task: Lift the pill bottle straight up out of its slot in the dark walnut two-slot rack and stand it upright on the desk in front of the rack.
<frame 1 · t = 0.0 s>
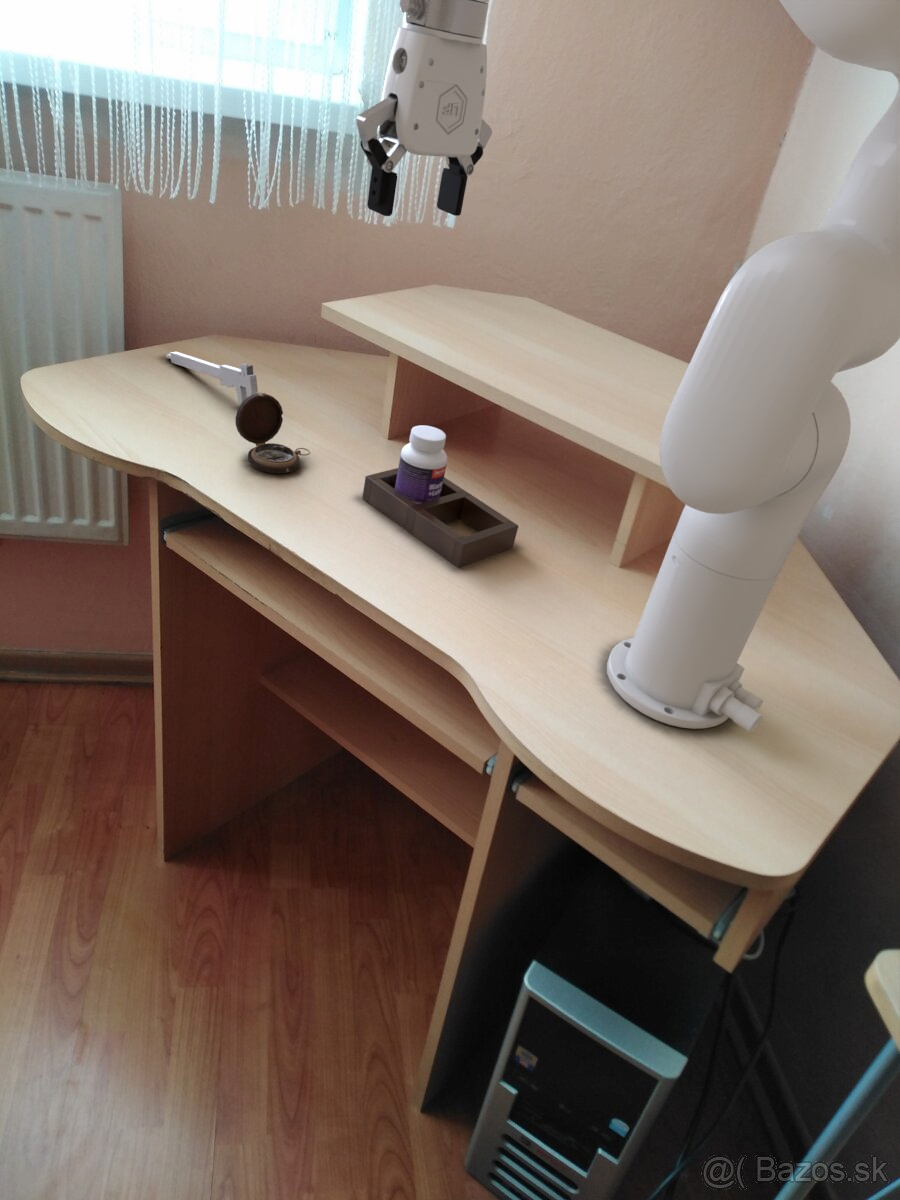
hand: (414, 212, 92), 31 cm above the table, tool pointing down, fingers open, 9 cm apart
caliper: (209, 386, 123), on the table
compass: (277, 460, 109), on the table
rack: (436, 522, 104), on the table
pill bottle: (414, 508, 106), resting in rack
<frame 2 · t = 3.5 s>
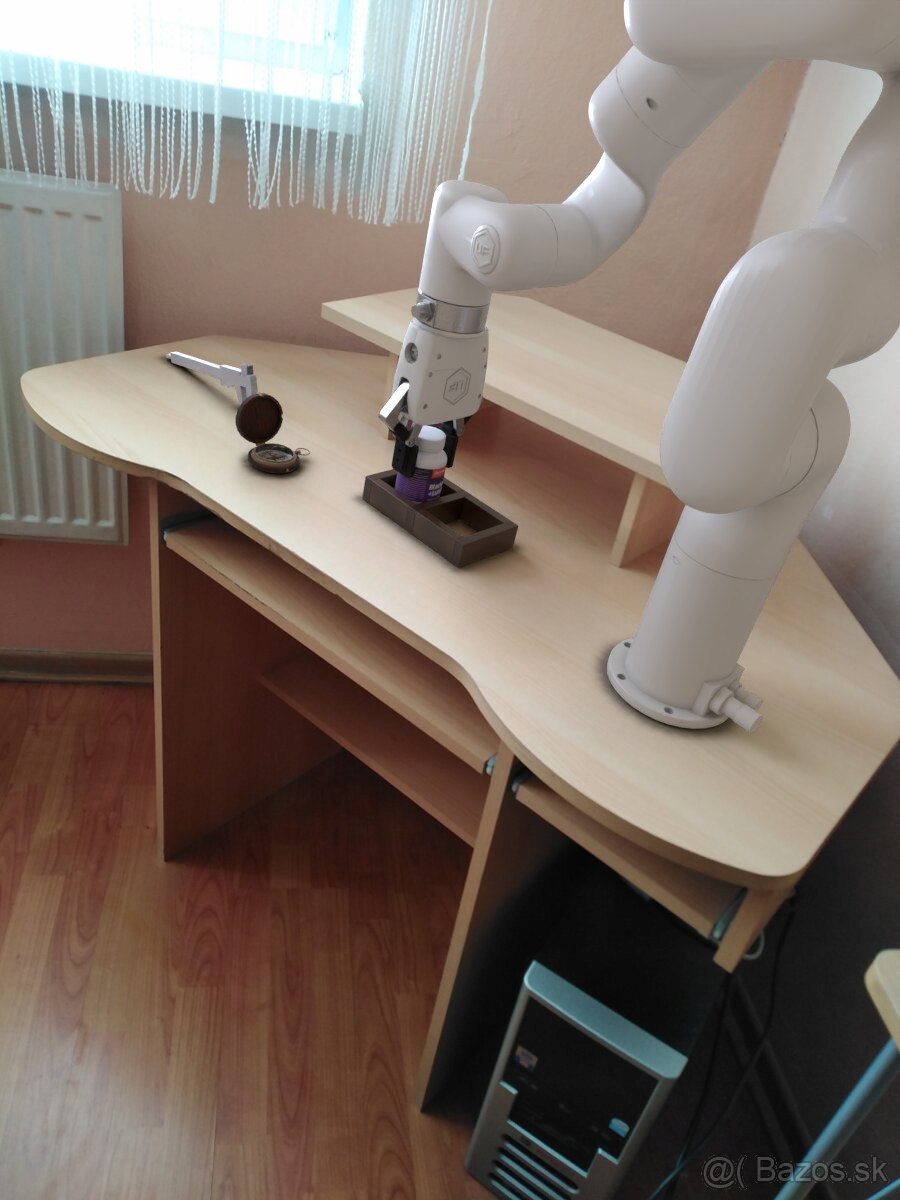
hand: (422, 466, 103), 5 cm above the table, tool pointing down, fingers closed on pill bottle, 5 cm apart
pill bottle: (414, 508, 106), resting in rack, touching gripper
everything else where it was.
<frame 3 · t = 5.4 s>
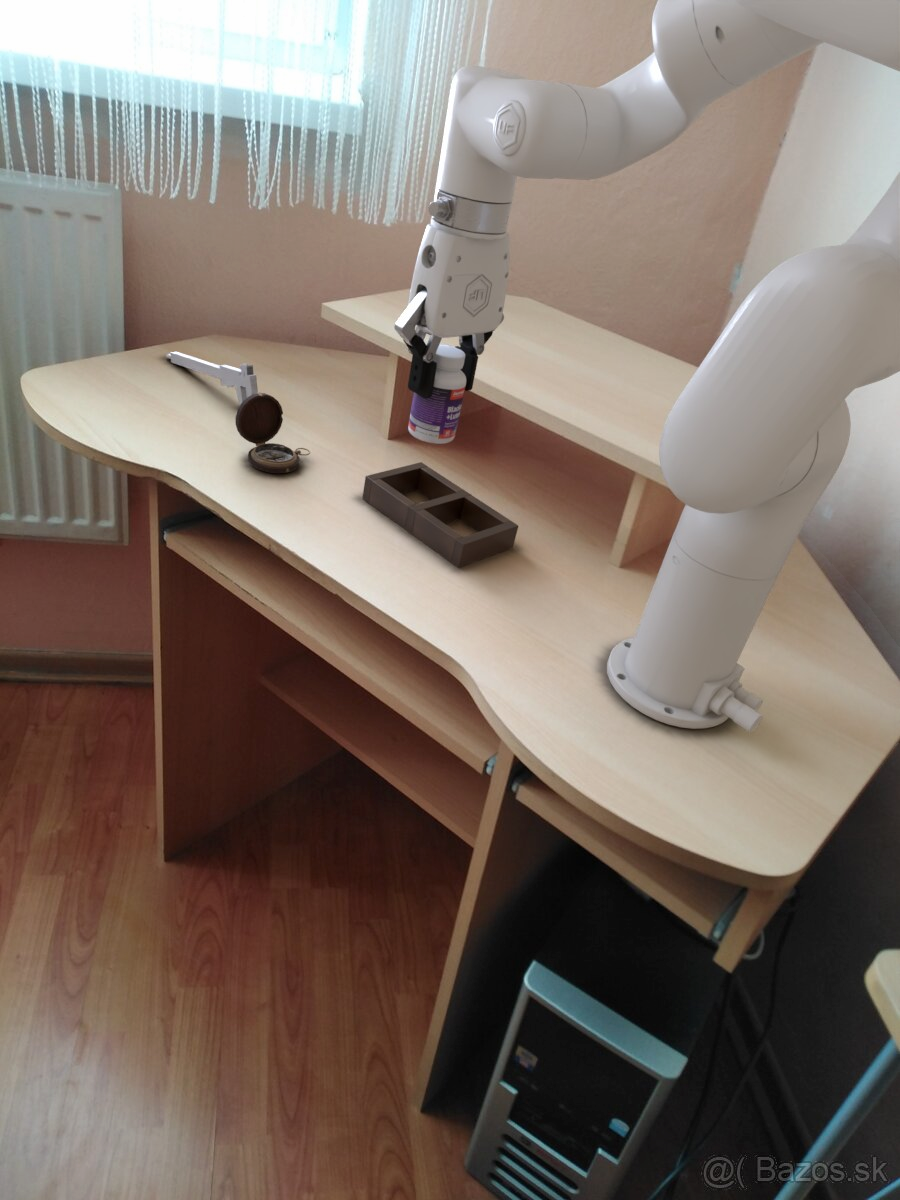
hand: (440, 388, 97), 15 cm above the table, tool pointing down, fingers closed on pill bottle, 5 cm apart
pill bottle: (430, 435, 100), point 10 cm above the table, touching gripper
everything else where it was.
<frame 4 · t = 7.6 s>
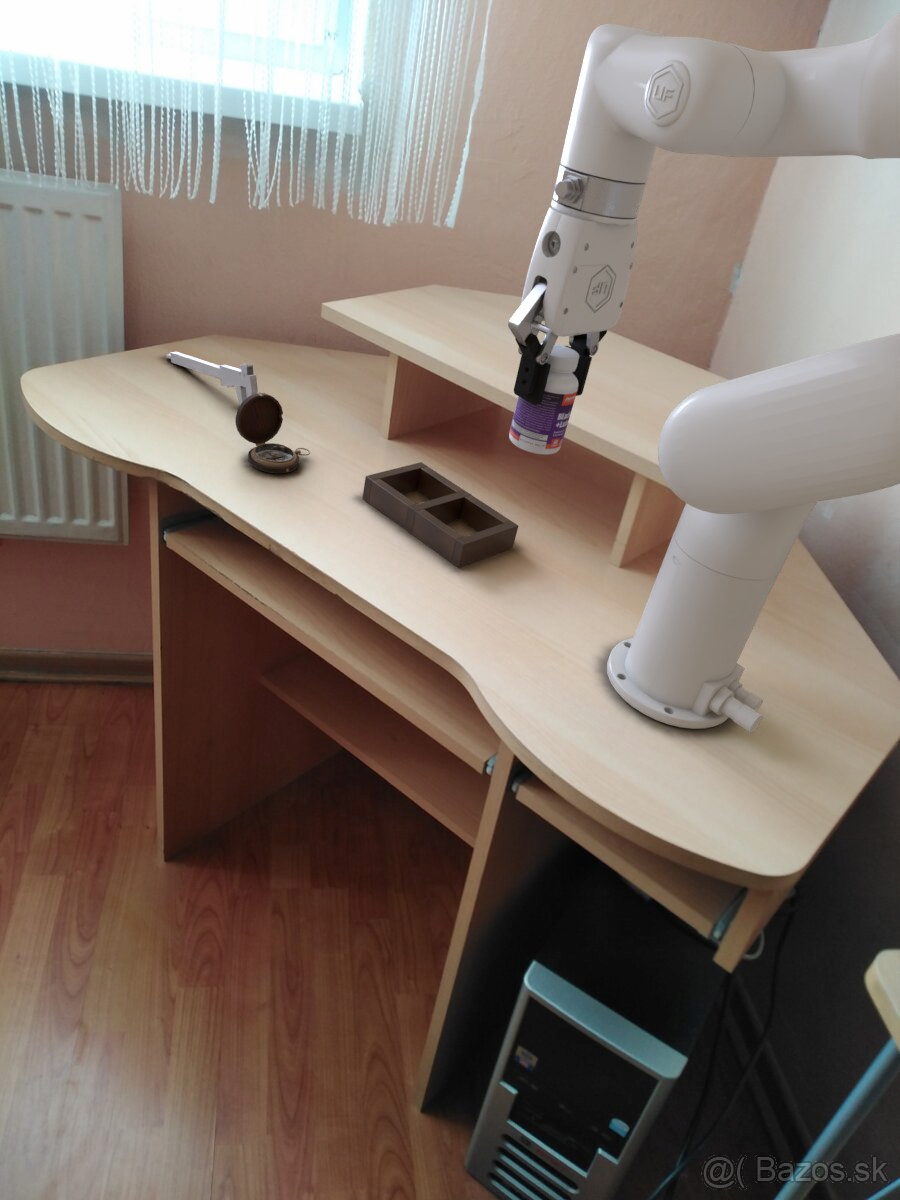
hand: (548, 392, 86), 21 cm above the table, tool pointing down, fingers closed on pill bottle, 5 cm apart
pill bottle: (533, 445, 90), point 15 cm above the table, touching gripper
everything else where it was.
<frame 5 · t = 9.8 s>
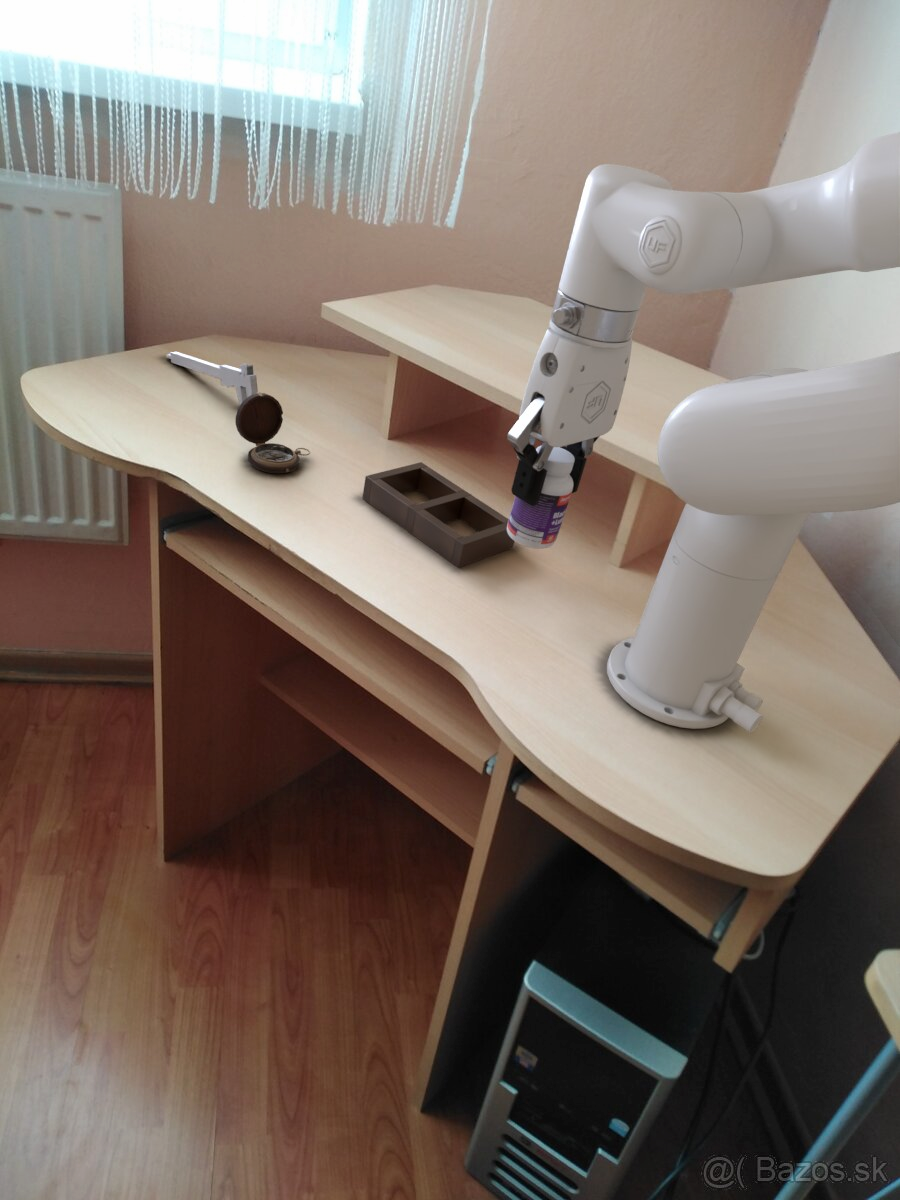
hand: (544, 491, 90), 11 cm above the table, tool pointing down, fingers closed on pill bottle, 5 cm apart
pill bottle: (530, 537, 94), point 5 cm above the table, touching gripper
everything else where it was.
when the fingers open (6 cm above the table, at t = 11.6 s): pill bottle stays where it is, on the table.
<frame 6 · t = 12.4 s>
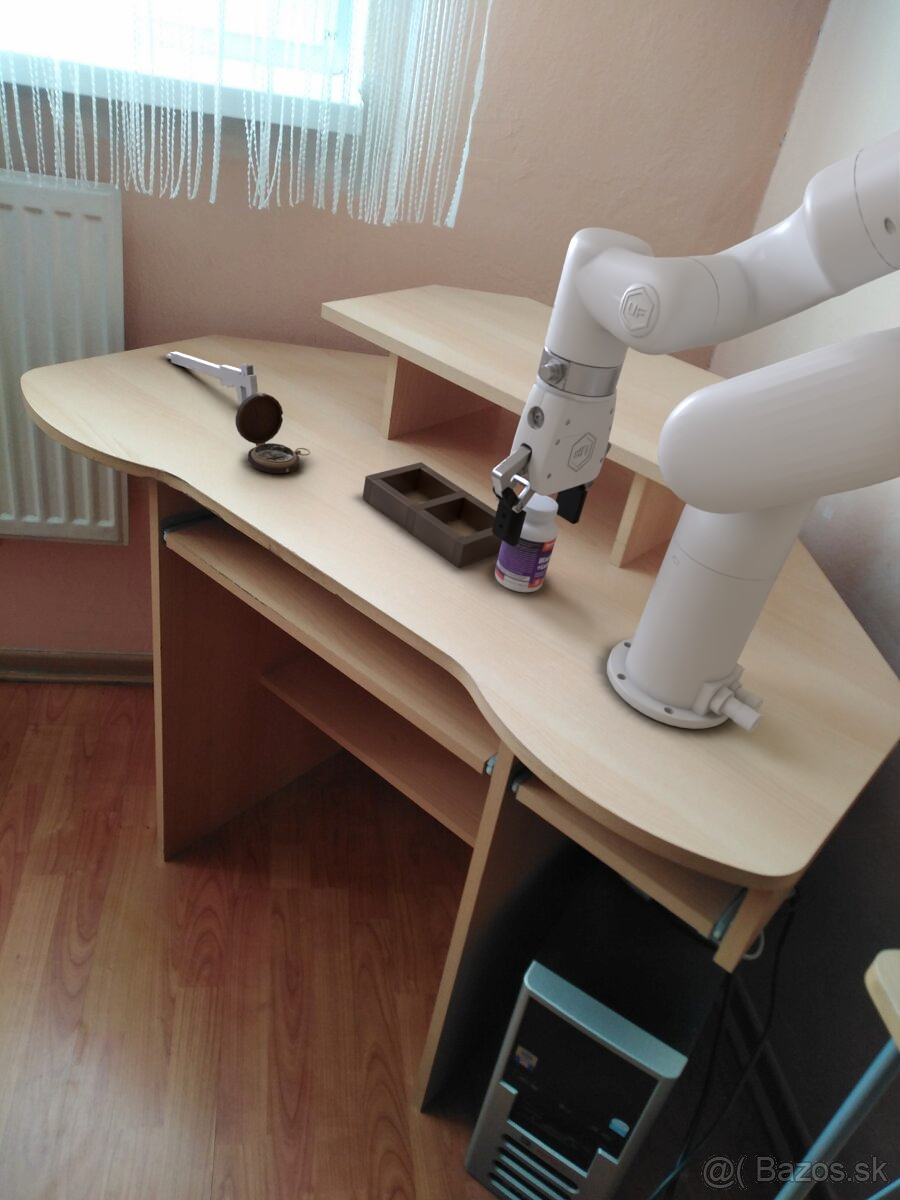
hand: (535, 528, 93), 7 cm above the table, tool pointing down, fingers open, 9 cm apart
pill bottle: (517, 581, 97), on the table
everything else where it was.
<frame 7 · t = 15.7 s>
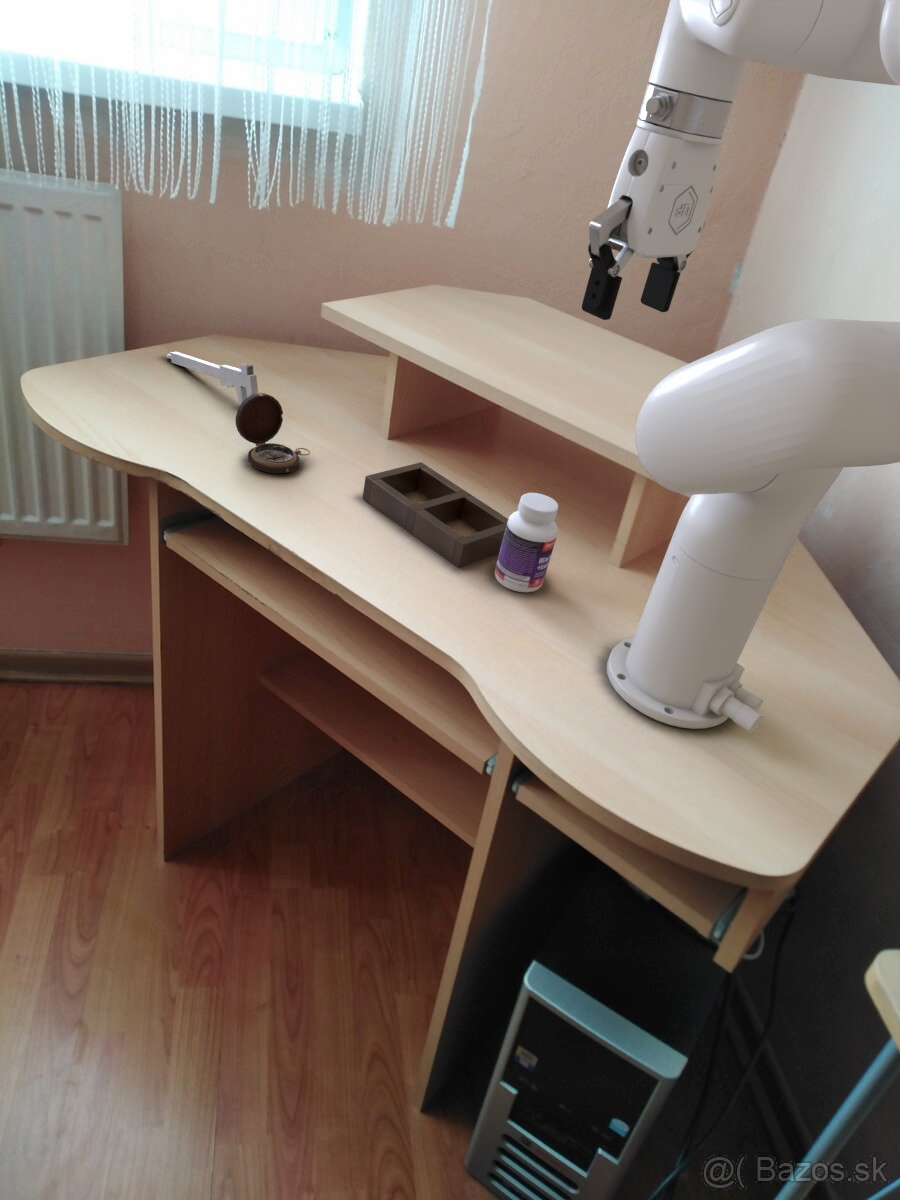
hand: (625, 311, 87), 28 cm above the table, tool pointing down, fingers open, 9 cm apart
nothing on the table moved.
at the end: pill bottle inside the target area (0.3 cm from its centre), on the table; pill bottle tilted 0°; the gripper is holding nothing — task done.
